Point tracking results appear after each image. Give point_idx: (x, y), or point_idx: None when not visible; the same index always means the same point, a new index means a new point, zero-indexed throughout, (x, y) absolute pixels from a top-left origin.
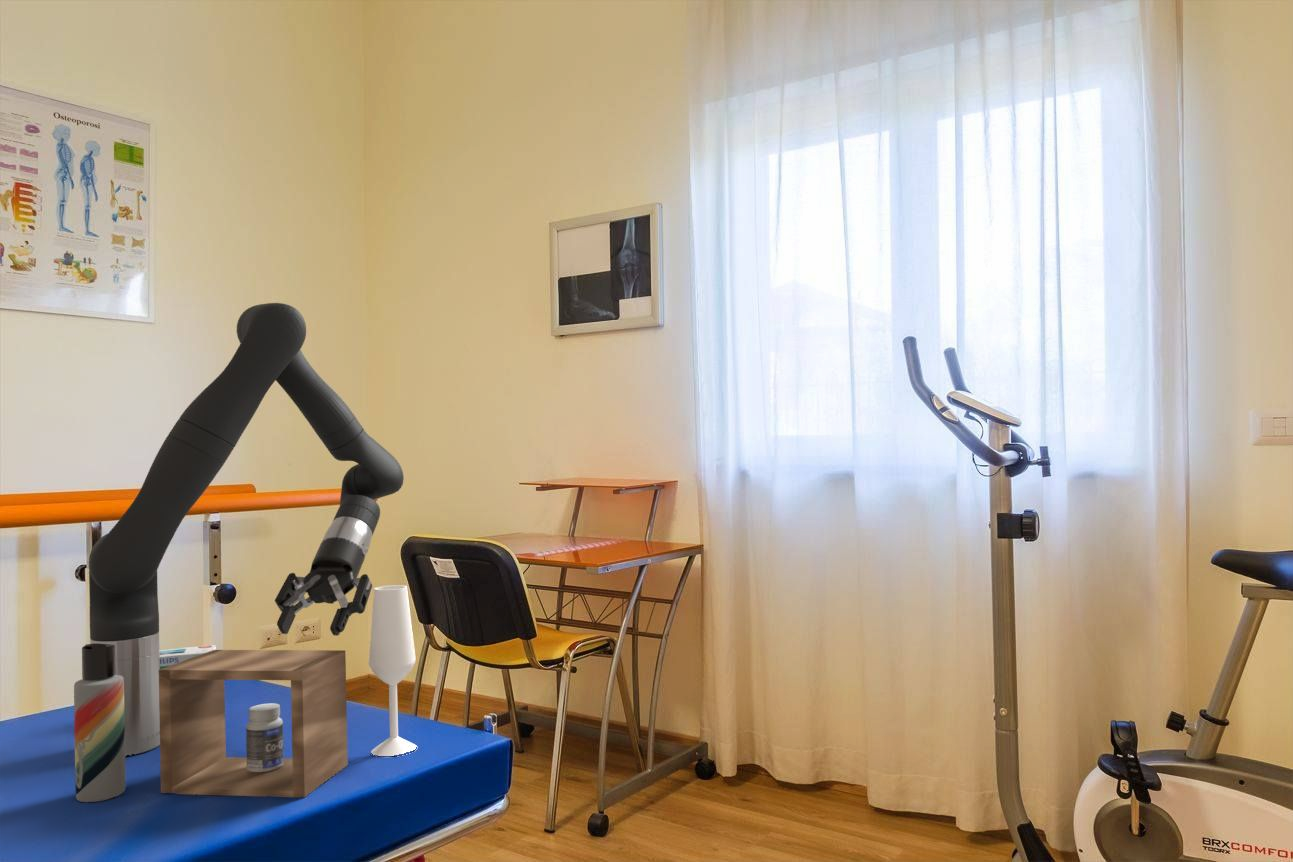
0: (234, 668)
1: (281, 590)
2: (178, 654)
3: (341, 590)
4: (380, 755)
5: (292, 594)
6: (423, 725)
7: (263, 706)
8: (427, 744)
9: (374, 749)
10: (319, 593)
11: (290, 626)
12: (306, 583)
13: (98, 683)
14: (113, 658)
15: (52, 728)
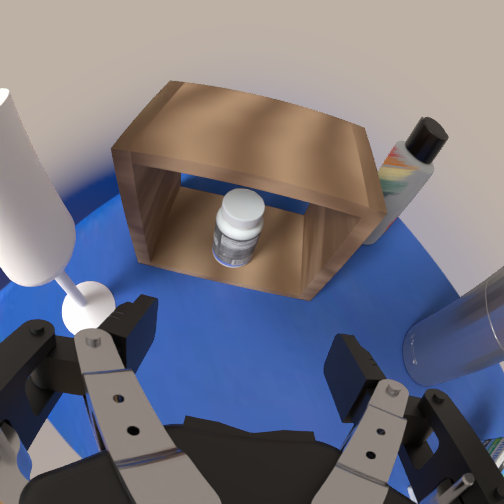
0: (268, 102)
1: (466, 427)
2: (496, 464)
3: (88, 382)
4: (102, 285)
5: (423, 480)
6: (61, 412)
7: (246, 206)
8: (51, 320)
9: (110, 304)
10: (261, 439)
11: (330, 386)
12: (390, 466)
13: (402, 141)
14: (415, 133)
15: (499, 403)
